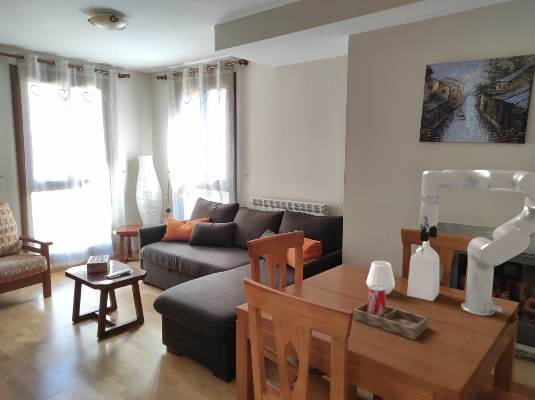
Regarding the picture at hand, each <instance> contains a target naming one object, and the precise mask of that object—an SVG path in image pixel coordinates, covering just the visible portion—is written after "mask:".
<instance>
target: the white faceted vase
mask: <svg viewBox="0 0 535 400" xmlns="http://www.w3.org/2000/svg"><path fill="white" fill-rule="evenodd" d="M394 277H395V276H394V273H393V267H392V264H391V263H390V262H387V261H385V260H374V261H372V262H371V266H370V269H369V271H368V275H367V279H366V286H367V288H368V290H369V289H370V286H373V285H377V286H382V287H384V290H385V292H386V295H389V294H391V292H392V291H393V289H394V288H395V285H396V284H395V283H396V282H395V278H394Z"/></svg>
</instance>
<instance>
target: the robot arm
mask: <svg viewBox="0 0 535 400" xmlns="http://www.w3.org/2000/svg"><path fill="white" fill-rule="evenodd" d="M443 188H444V189H448V190H449V189H450V190H451V189H452V190H453V189H459V188H467V189H468V188H469V189H475V190H480V191H485V192H486V191H487V192H490V191H491V192H512V193H513V192H518V193H523V195H524V196H525V198H524V203H523V204H524V205H523V209H522V211H521V212H520V213H519V214H518V215H516V216H515V217H513V218H511V219H510V220H508V221H507V222H505V223H503V224H501V225H500V226H498V227H496V228H495V229H494V231H493V232H492V238H493V240H490V239H488V238H487V237H482V236H478V237H474V238H472V239H471V240H470V241H469V243H468V245H467V274H466V275H467V277H466V291H465V302H462V303H461V306H460V308H461V309H462V310H463V311H465V312H466V313H469V314H472V315H476V316H481V317H482V316H484V317H486V316H493V315H494V314H495V312H497V313H500V314H502V313H503V307H501V306H500V305H496V304H495V303H494V301H493V300H492V297H493V296H492V294H493V283H494V272H495V271H494V268H495V267H496V266H499V265H501V264H503V263H505V262H507V261H510V259H512V258H514V257H516V256H518V255H519V254H521V253H523V252H524V251H525V250H527V248H528V247H529V246H530V243H531V239H530V238H531V237H530V235H531V234H533V233H534V232H535V172H532V171H525V170H500V169H499V170H498V169H496V170H495V169H474V170H473V169H472V170H471V169H470V170H468V169H466V170H464V169H443V170H442V171H439V170H425V171H423V172H422V178H421V193H420V194H421V198H420V203H421V205H420V209H419V211H420V212H419V218H418V219H419V220H418V225H419V228H420V231H419V232H420V236H419V241H421V242H424V241H425V242H428V240H429V238H433V239H436V238H437V235H438V223H439V216H440V215H439V214H440V213H439V210H440V208H439V205H441V196H442V189H443Z"/></svg>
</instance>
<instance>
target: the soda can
mask: <svg viewBox="0 0 535 400" xmlns="http://www.w3.org/2000/svg"><path fill="white" fill-rule="evenodd" d="M367 301H368V304H367V312H368V313H370V314H373V315H376V316H379V317H384V316H385V306H387V305H386V301H387V294H386V292H385V290H384V287H382V286H377V285H373V286H370V289H369V288H368V292H367Z"/></svg>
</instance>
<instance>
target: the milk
mask: <svg viewBox="0 0 535 400" xmlns="http://www.w3.org/2000/svg"><path fill="white" fill-rule="evenodd" d="M415 251H416V252H414V253H413V254H412V255H411V256H410V261H409V269H408V280H407V290H406V291H407V292H406V296H408V297H413V298H417V299H421V300H426V301H430V302H433V301H434V300H435V299H436V298H437V296H439V294H440V256H439V253H437V252H436V251H435V249H434V248H433V247H431V245H430V240H429V239H428V242H425V241H422V246H419V247H418V248H417V249H416V250H415Z"/></svg>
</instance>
